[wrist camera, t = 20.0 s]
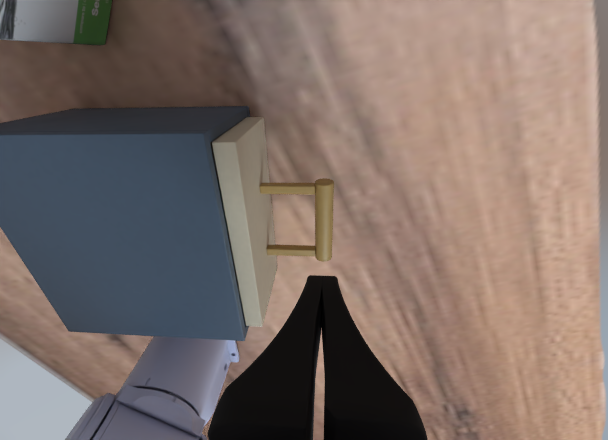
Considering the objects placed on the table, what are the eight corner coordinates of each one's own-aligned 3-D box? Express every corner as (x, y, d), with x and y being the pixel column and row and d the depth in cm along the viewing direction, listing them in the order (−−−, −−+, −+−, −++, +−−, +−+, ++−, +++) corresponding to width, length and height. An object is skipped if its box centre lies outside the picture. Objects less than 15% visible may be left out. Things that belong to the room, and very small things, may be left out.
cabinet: (248, 105, 20) (203, 133, 13) (267, 266, 27) (244, 341, 20) (72, 108, 21) (-61, 135, 14) (135, 261, 28) (68, 331, 21)
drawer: (334, 116, 19) (336, 141, 13) (330, 268, 25) (330, 330, 20) (94, 118, 20) (1, 142, 14) (148, 262, 27) (99, 318, 21)
